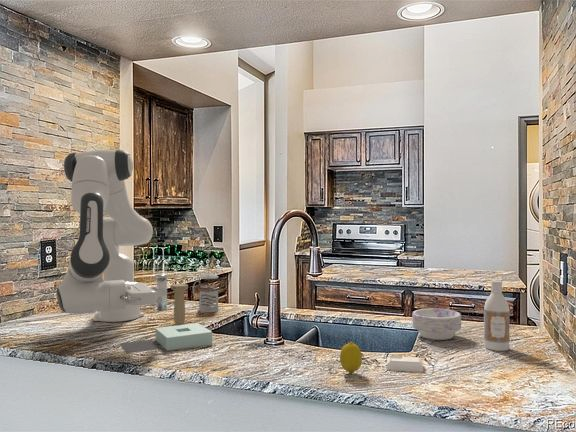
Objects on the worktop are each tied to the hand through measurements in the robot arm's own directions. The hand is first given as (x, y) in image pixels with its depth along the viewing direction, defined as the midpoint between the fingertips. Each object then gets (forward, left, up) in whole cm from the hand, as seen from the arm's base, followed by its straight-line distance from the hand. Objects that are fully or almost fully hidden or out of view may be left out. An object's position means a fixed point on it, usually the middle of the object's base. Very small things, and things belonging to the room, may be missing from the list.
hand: (164, 291), depth 151 cm
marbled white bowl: (+34, +79, -17) cm, 88 cm away
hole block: (0, +6, -17) cm, 18 cm away
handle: (-21, +11, -17) cm, 29 cm away
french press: (-46, +30, -17) cm, 57 cm away
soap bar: (+53, +49, -17) cm, 74 cm away
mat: (-2, -7, -17) cm, 18 cm away
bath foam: (+53, +85, -17) cm, 101 cm away
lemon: (+50, +34, -17) cm, 63 cm away
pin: (0, -1, -6) cm, 6 cm away
